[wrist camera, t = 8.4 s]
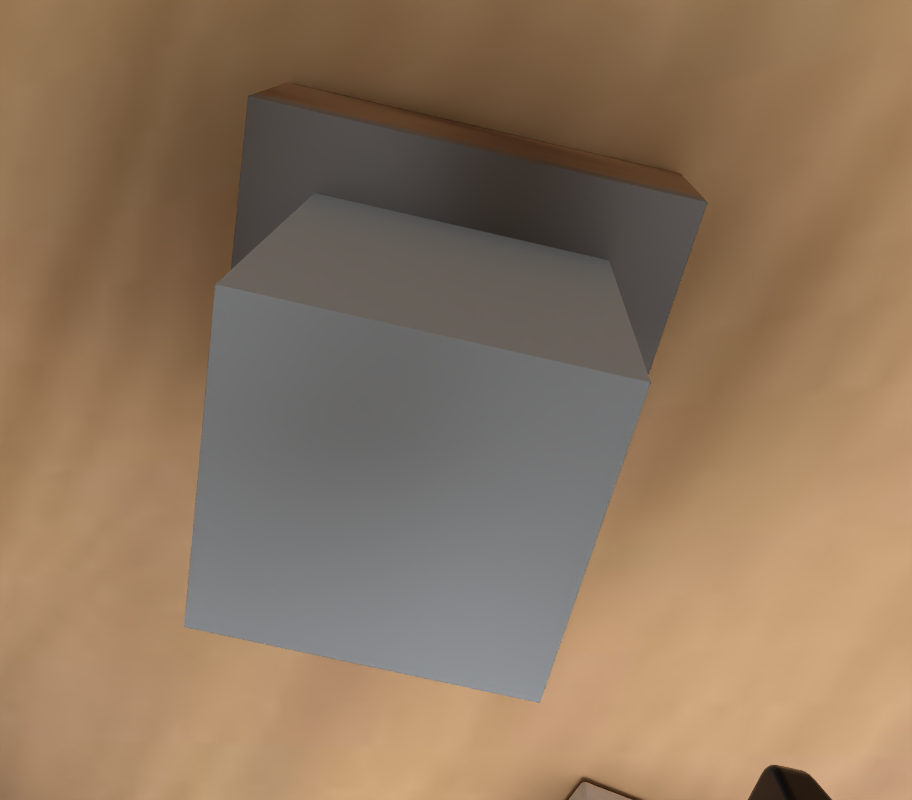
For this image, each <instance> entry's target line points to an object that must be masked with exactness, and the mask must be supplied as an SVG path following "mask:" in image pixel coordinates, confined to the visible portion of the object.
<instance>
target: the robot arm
mask: <svg viewBox="0 0 912 800" xmlns="http://www.w3.org/2000/svg"><path fill="white" fill-rule="evenodd" d="M748 800H832V799H831V798H830V797H829V796H828V795H827V793H826V792H825V791H824V790H823V789H822V788H821V786H820V785H819V784H818V783H817V782H816V781H815V780H814V779H813V778H812V777H811V776H810V775H809V774H808V773H806V772H804V771H801V770H797V769H792V768H788V767H783V766H778V765H770V766H768V767H767V768H766V769H765V770H764V771H763V773H762V774H761V776H760V778H759V780H758V782H757V784H756V786H755V787H754V789H753V791H752V793H751V795H750V797H749V799H748Z"/></svg>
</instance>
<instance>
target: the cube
mask: <svg viewBox="0 0 912 800" xmlns="http://www.w3.org/2000/svg"><path fill="white" fill-rule="evenodd" d="M650 384H651V382H650V379H649V376H648V373H647V370H646V367H645V364H644V361H643V358H642V355H641V352H640V349H639V346H638V344H637V341H636V338H635V335H634V332H633V329H632V326H631V323H630V320H629V317H628V314H627V311H626V308H625V306H624V303H623V300H622V297H621V294H620V291H619V288H618V285H617V282H616V279H615V276H614V273H613V270H612V268H611V265H610V262H609V260H605V259H601V258H597V257H592V256H588V255H583V254H579V253H575V252H570V251H566V250H562V249H557V248H553V247H549V246H544V245H540V244H535V243H531V242H527V241H522V240H518V239H514V238H509V237H505V236H501V235H496V234H492V233H487V232H483V231H479V230H474V229H470V228H466V227H461V226H457V225H452V224H448V223H444V222H439V221H435V220H431V219H426V218H422V217H418V216H413V215H409V214H404V213H400V212H396V211H391V210H387V209H383V208H378V207H374V206H370V205H365V204H361V203H356V202H352V201H348V200H343V199H339V198H335V197H330V196H326V195H321V194H317V193H314V194H313V195H312V196H311V197H310V198H309V199H308V200H306V201H305V202H304V203H303V204H302V205H301V206H300V207H299V208H298V209H297V210H296V211H295V212H293V213H292V214H291V215H290V216H289V217H288V218H287V219H286V220H285V221H284V222H283V223H281V224H280V225H279V226H278V227H277V228H276V229H275V230H274V231H273V232H272V233H271V234H270V235H268V236H267V237H266V238H265V239H264V240H263V241H262V242H261V243H260V244H259V245H258V246H256V247H255V248H254V249H253V250H252V251H251V252H250V253H249V254H248V255H247V256H246V257H245V258H243V259H242V260H241V261H240V262H239V263H238V264H237V265H236V266H235V267H234V268H233V269H231V270H230V271H229V272H228V273H227V274H226V275H225V276H224V277H223V278H222V279H221V280H220V281H218V282H217V283H216V284H215V293H214V304H213V315H212V326H211V337H210V348H209V359H208V370H207V381H206V392H205V403H204V414H203V425H202V436H201V447H200V458H199V469H198V480H197V491H196V503H195V514H194V525H193V536H192V547H191V558H190V569H189V580H188V591H187V602H186V613H185V624H184V627H187V628H191V629H196V630H201V631H206V632H210V633H215V634H220V635H224V636H229V637H234V638H238V639H243V640H248V641H252V642H257V643H262V644H266V645H271V646H276V647H280V648H285V649H290V650H294V651H299V652H304V653H308V654H313V655H318V656H323V657H327V658H332V659H337V660H341V661H346V662H351V663H355V664H360V665H365V666H369V667H374V668H379V669H383V670H388V671H393V672H397V673H402V674H407V675H411V676H416V677H421V678H425V679H430V680H435V681H440V682H444V683H449V684H454V685H458V686H463V687H468V688H472V689H477V690H482V691H486V692H491V693H496V694H500V695H505V696H510V697H514V698H519V699H524V700H528V701H533V702H538V703H540V701H541V698H542V695H543V692H544V689H545V686H546V683H547V680H548V678H549V675H550V672H551V669H552V666H553V663H554V660H555V657H556V654H557V652H558V649H559V646H560V643H561V640H562V637H563V634H564V631H565V629H566V626H567V623H568V620H569V617H570V614H571V611H572V608H573V605H574V603H575V600H576V597H577V594H578V591H579V588H580V585H581V582H582V580H583V577H584V574H585V571H586V568H587V565H588V562H589V559H590V556H591V554H592V551H593V548H594V545H595V542H596V539H597V536H598V533H599V531H600V528H601V525H602V522H603V519H604V516H605V513H606V510H607V507H608V505H609V502H610V499H611V496H612V493H613V490H614V487H615V484H616V482H617V479H618V476H619V473H620V470H621V467H622V464H623V461H624V458H625V456H626V453H627V450H628V447H629V444H630V441H631V438H632V435H633V433H634V430H635V427H636V424H637V421H638V418H639V415H640V412H641V409H642V407H643V404H644V401H645V398H646V395H647V392H648V389H649V386H650Z"/></svg>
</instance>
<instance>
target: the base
mask: <svg viewBox="0 0 912 800" xmlns="http://www.w3.org/2000/svg"><path fill="white" fill-rule="evenodd" d="M314 193H317V194H321V195H326V196H330V197H335V198H339V199H343V200H348V201H352V202H356V203H361V204H365V205H370V206H374V207H378V208H383V209H387V210H391V211H396V212H400V213H404V214H409V215H413V216H418V217H422V218H426V219H431V220H435V221H439V222H444V223H448V224H452V225H457V226H461V227H466V228H470V229H474V230H479V231H483V232H487V233H492V234H496V235H501V236H505V237H509V238H514V239H518V240H522V241H527V242H531V243H535V244H540V245H544V246H549V247H553V248H557V249H562V250H566V251H570V252H575V253H579V254H583V255H588V256H592V257H597V258H601V259H605V260H609V262H610V265H611V268H612V270H613V273H614V276H615V279H616V282H617V285H618V288H619V291H620V294H621V297H622V300H623V303H624V306H625V308H626V311H627V314H628V317H629V320H630V323H631V326H632V329H633V332H634V335H635V338H636V341H637V344H638V346H639V349H640V352H641V355H642V358H643V361H644V364H645V367H646V370H647V373H648V374H649V371H650V368H651V365H652V362H653V360H654V357H655V354H656V351H657V348H658V345H659V342H660V339H661V336H662V333H663V330H664V328H665V325H666V322H667V319H668V316H669V313H670V310H671V307H672V304H673V301H674V298H675V295H676V293H677V290H678V287H679V284H680V281H681V278H682V275H683V272H684V269H685V266H686V263H687V261H688V258H689V255H690V252H691V249H692V246H693V243H694V240H695V237H696V234H697V231H698V229H699V226H700V223H701V220H702V217H703V214H704V211H705V208H706V205H707V201H706V200H705V199H704V198H703V197H702V196H701V195H700V194H699V193H698V192H697V191H696V190H695V189H694V188H693V186H692V185H691V184H690V183H689V182H688V181H687V180H686V179H685V178H684V177H683V176H682V175H681V174H679V173H675V172H670V171H666V170H662V169H657V168H653V167H649V166H645V165H640V164H636V163H632V162H627V161H623V160H619V159H614V158H610V157H606V156H601V155H597V154H593V153H589V152H584V151H580V150H576V149H571V148H567V147H563V146H558V145H554V144H550V143H545V142H541V141H537V140H533V139H528V138H524V137H520V136H515V135H511V134H507V133H502V132H498V131H494V130H489V129H485V128H481V127H477V126H472V125H468V124H464V123H459V122H455V121H451V120H446V119H442V118H438V117H433V116H429V115H425V114H421V113H416V112H412V111H408V110H403V109H399V108H395V107H390V106H386V105H382V104H377V103H373V102H369V101H365V100H360V99H356V98H352V97H347V96H343V95H339V94H334V93H330V92H326V91H321V90H317V89H313V88H309V87H304V86H300V85H296V84H291V83H285V84H282V85H279V86H276V87H274V88H271V89H268V90H265V91H262V92H259V93H256V94H253V95H250V96H248V103H247V113H246V123H245V133H244V143H243V154H242V164H241V174H240V184H239V194H238V204H237V215H236V225H235V235H234V245H233V255H232V266H231V269H233V268H234V267H235V266H236V265H237V264H238V263H239V262H240V261H241V260H242V259H243V258H245V257H246V256H247V255H248V254H249V253H250V252H251V251H252V250H253V249H254V248H255V247H256V246H258V245H259V244H260V243H261V242H262V241H263V240H264V239H265V238H266V237H267V236H268V235H270V234H271V233H272V232H273V231H274V230H275V229H276V228H277V227H278V226H279V225H280V224H281V223H283V222H284V221H285V220H286V219H287V218H288V217H289V216H290V215H291V214H292V213H293V212H295V211H296V210H297V209H298V208H299V207H300V206H301V205H302V204H303V203H304V202H305V201H306V200H308V199H309V198H310V197H311V196H312V195H313V194H314Z"/></svg>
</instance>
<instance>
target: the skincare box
mask: <svg viewBox="0 0 912 800" xmlns="http://www.w3.org/2000/svg"><path fill="white" fill-rule="evenodd" d="M569 800H632V799H629V798H626V797H624V796H621V795H618V794H616V793H613V792H611V791H608V790H605V789H603V788H600V787H597V786H595V785H592V784H590V783H587V782H583V783H581V784H580V786H579V787H578V788H577V789H576V791H575V792H574V793H573V795H572V796H571V797H570V798H569Z"/></svg>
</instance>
